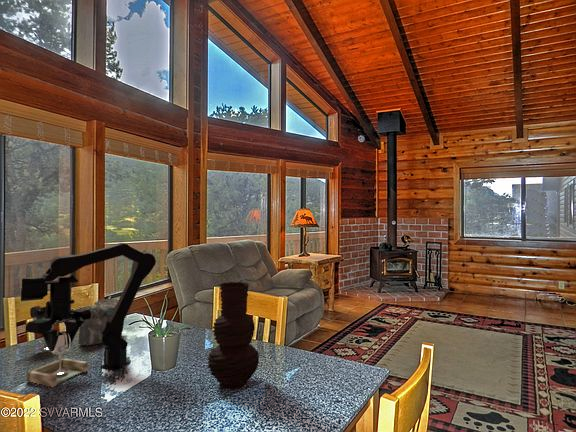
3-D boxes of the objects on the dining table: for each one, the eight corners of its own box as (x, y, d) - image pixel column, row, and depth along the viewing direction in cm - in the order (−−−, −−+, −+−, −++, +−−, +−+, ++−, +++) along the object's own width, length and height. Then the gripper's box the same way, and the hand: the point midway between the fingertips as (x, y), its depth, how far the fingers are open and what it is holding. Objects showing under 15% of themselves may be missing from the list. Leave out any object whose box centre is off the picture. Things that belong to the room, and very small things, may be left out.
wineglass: (74, 368, 122) (75, 331, 122) (62, 376, 117) (62, 336, 117) (57, 368, 123) (58, 330, 123) (44, 375, 117) (44, 335, 117)
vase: (268, 380, 119) (269, 282, 119) (237, 400, 106) (239, 290, 106) (229, 369, 127) (230, 278, 127) (196, 387, 114) (197, 285, 114)
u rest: (87, 371, 124) (87, 362, 124) (52, 387, 112) (53, 377, 112) (63, 367, 127) (63, 357, 127) (27, 382, 116) (27, 372, 116)
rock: (107, 294, 168) (125, 291, 165) (115, 330, 169) (134, 328, 166) (67, 310, 148) (87, 307, 145) (77, 352, 149) (98, 350, 146)
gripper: (66, 290, 131) (66, 336, 131) (11, 301, 114) (11, 354, 114) (92, 292, 128) (92, 339, 128) (40, 304, 110) (39, 359, 110)
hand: (60, 347), depth 120 cm, fingers closed on wineglass, 6 cm apart
